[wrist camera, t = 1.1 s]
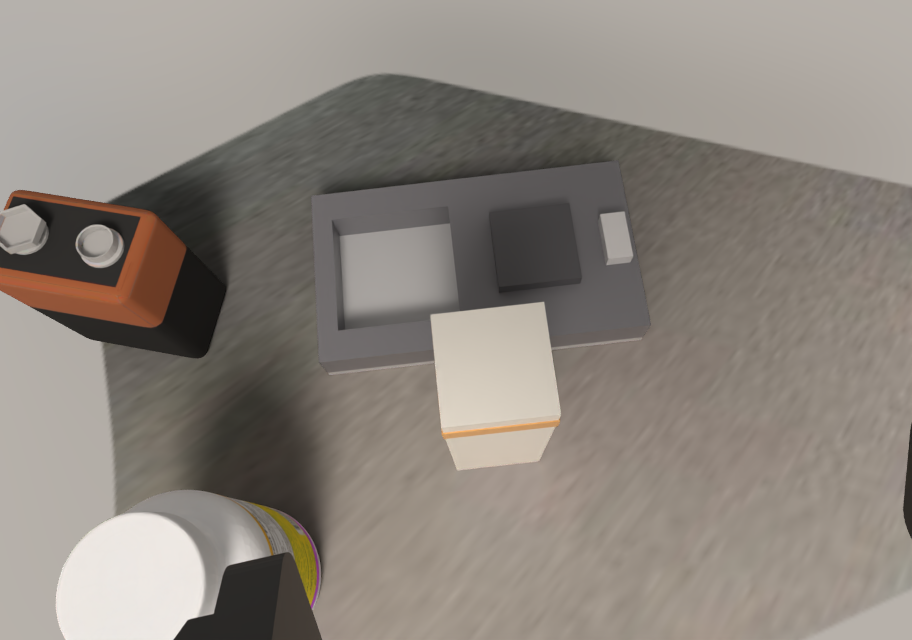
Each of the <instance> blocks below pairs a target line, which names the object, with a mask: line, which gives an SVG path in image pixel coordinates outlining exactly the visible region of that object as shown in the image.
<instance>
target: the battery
mask: <svg viewBox="0 0 912 640" xmlns="http://www.w3.org/2000/svg"><path fill="white" fill-rule="evenodd" d="M0 290H1V291H2V292H4V293H6V294H8V295H10V296H12V297H13V298H15V299H17V300H19V301H21V302H23V303H24V304H26V305H28V306H30V307H32V308H33V309H35V310H37V311H39V312H41V313H43V314H45V315H46V316H48V317H50V318H52V319H54V320H55V321H57V322H59V323H61V324H63V325H64V326H66V327H68V328H70V329H72V330H74V331H76V332H77V333H79V334H81V335H83V336H85V337H86V338H89V339H92V340H96V341H101V342H107V343H113V344H118V345H124V346H129V347H135V348H140V349H146V350H151V351H157V352H162V353H168V354H173V355H179V356H184V357H190V358H201V357H203V356H204V355H205V354H206V352H207V349H208V346H209V343H210V339H211V336H212V333H213V330H214V326H215V323H216V320H217V317H218V313H219V310H220V307H221V304H222V300H223V297H224V294H225V290H226V288H225V286H224V284H223V283H222V282H221V281H220V280H219V279H218V278H217V277H216V276H215V275H214V274H213V273H212V272H211V271H210V270H209V269H208V268H207V267H206V266H205V265H204V264H203V262H202V261H201V260H200V259H199V258H198V257H197V256H196V255H195V254H194V253H193V252H192V251H191V250H190V249H189V248H188V247H187V246H186V245H185V244H184V243H183V242H182V241H181V240H180V239H179V238H178V237H177V236H176V235H175V234H174V233H173V232H172V231H171V230H170V229H169V228H168V227H167V226H166V225H165V223H164V222H163V221H162V220H161V219H160V218H159V217H158V216H157V215H156V214H155V213H153V212H151V211H149V210H144V209H138V208H132V207H126V206H120V205H114V204H107V203H101V202H95V201H89V200H82V199H76V198H70V197H63V196H57V195H51V194H45V193H39V192H32V191H25V190H18V191H14V192H12V193H11V195H10V197H9V199H8V201H7V204H6V206H5V208H4V211H1V212H0Z"/></svg>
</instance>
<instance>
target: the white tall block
mask: <svg viewBox="0 0 912 640" xmlns="http://www.w3.org/2000/svg"><path fill="white" fill-rule="evenodd" d="M430 317H431V328H432V338H433V348H434V358H435V368H436V379H437V389H438V399H439V409H440V419H441V430H442V436H443V438H444V439H446V442H447V444H448V447H449V450H450V452H451V455H452V458H453V460H454V463H455V466H456V468H457V470H465V469H474V468H483V467H492V466H501V465H510V464H519V463H528V462H537V461H539V460H540V458H541V456H542V454H543V452H544V449H545V447H546V445H547V443H548V441H549V439H550V437H551V435H552V433H553V431H554V428H555V427H557V426H558V425H559V423H560V416H561V410H560V404H559V397H558V391H557V384H556V377H555V371H554V364H553V357H552V351H551V344H550V338H549V331H548V324H547V318H546V311H545V305H544V302H538V303H529V304H521V305H512V306H503V307H494V308H485V309H476V310H468V311H459V312H450V313H441V314H432V315H430Z"/></svg>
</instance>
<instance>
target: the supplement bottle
mask: <svg viewBox="0 0 912 640" xmlns="http://www.w3.org/2000/svg"><path fill="white" fill-rule="evenodd" d="M285 552H289V553H290V554H291V555H292V556H293V558H294V560H295V562H296V565H297V568H298V570H299V573H300V576H301V579H302V582H303V585H304V588H305V591H306V594H307V597H308V600H309V603H310V606H311V609H312V611H313V609H314V607H315V605H316V602H317V599H318V595H319V591H320V585H321V565H320V560H319V556H318V553H317V549H316V547H315V544H314V542H313V540H312V538H311V537H310V535H309V534H308V532H307V531H306V530H305V528H304V527H303V526H302V525H301V524H300V523H299V522H298V521H296V520H295V519H294V518H292V517H291V516H289V515H288V514H286V513H284V512H282V511H279V510H277V509H274V508H271V507H267V506H263V505H259V504H255V503H250V502H246V501H242V500H237V499H233V498H229V497H226V496H222V495H218V494H215V493H210V492H205V491H199V490H176V491H170V492H165V493H161V494H158V495H155V496H152V497H150V498H148V499H145V500H143V501H141V502H139V503H138V504H136V505H134V506H133V507H131V508H130V509H128V510H127V511H126V512H124V513H123V514H120V515H117V516H115V517H112V518H110V519H108V520H106V521H104V522H102V523H100V524H99V525H98V526H96V527H95V528H93V529H92V530H91V531H90V532H88V533H87V534H86V535H85V536H84V537H83V538H82V539H81V540H80V541H79V542H78V544H77V545H76V546H75V547H74V549H73V550H72V552H71V553H70V555H69V557H68V558H67V560H66V562H65V564H64V566H63V569H62V571H61V575H60V578H59V581H58V586H57V592H56V612H57V618H58V622H59V625H60V629H61V631H62V633H63V635H64V637H65V640H174V638H175V637H176V635H177V634H178V633H179V631H180V630H181V628H182V627H183V626H184V624H185V623H186V621H187V620H188V619H193V618H197V617H202V616H206V615H210V614H214V610H215V606H216V602H217V598H218V593H219V589H220V585H221V581H222V577H223V573H224V571H225V569H226V567H227V566H229V565H232V564H236V563H241V562H245V561H250V560H254V559H258V558H263V557H267V556H272V555H276V554H281V553H285Z"/></svg>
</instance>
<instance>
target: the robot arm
mask: <svg viewBox="0 0 912 640" xmlns="http://www.w3.org/2000/svg"><path fill="white" fill-rule="evenodd" d="M903 512H904V519H905V523H906V526H907V529H908V532H909V534H910V537H911V538H912V424H911V430H910V440H909V451H908V462H907V473H906V484H905V495H904V506H903ZM174 640H322V638H321V635H320V632H319V629H318V626H317V623H316V620H315V618H314V615H313V612H312V609H311V606H310V603H309V600H308V597H307V594H306V591H305V588H304V585H303V582H302V579H301V576H300V573H299V570H298V568H297V565H296V562H295V560H294V558H293V556H292V555H291V554H290V553H289V552H285V553H281V554H276V555H272V556H267V557H263V558H258V559H254V560H250V561H245V562H241V563H236V564H232V565H229V566H227V567H226V569H225V571H224V573H223V577H222V581H221V585H220V589H219V593H218V598H217V602H216V606H215V610H214V614H210V615H206V616H202V617H197V618H193V619H188V620H187V621H186V623H185V624H184V626H183V627H182V628H181V630H180V631H179V633H178V634H177V635H176V637H175V638H174Z"/></svg>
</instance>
